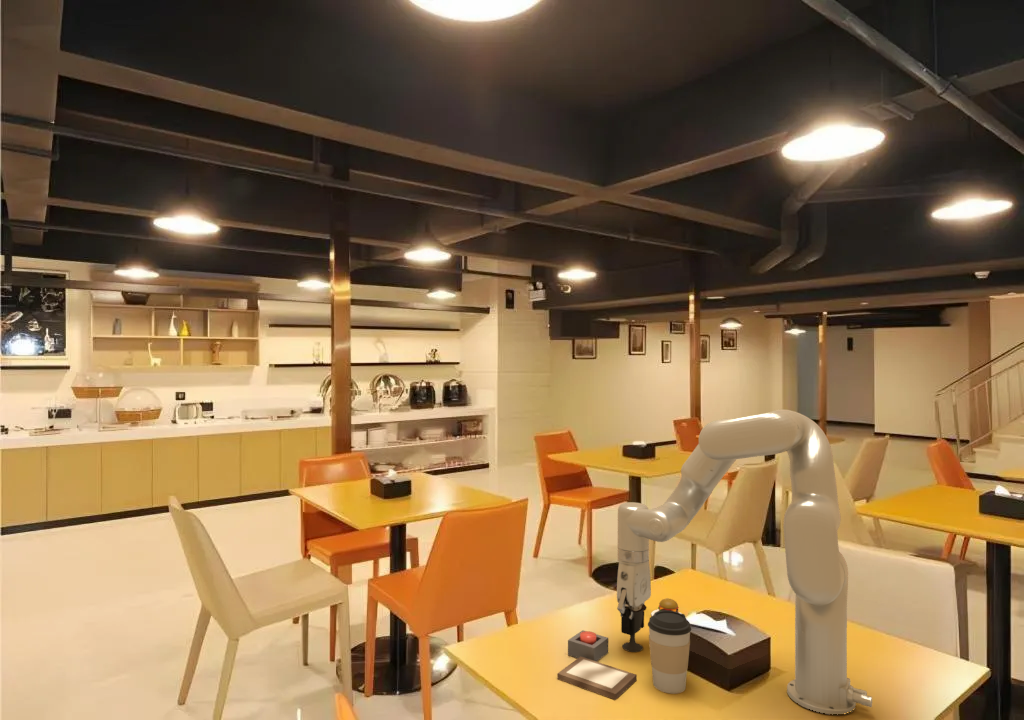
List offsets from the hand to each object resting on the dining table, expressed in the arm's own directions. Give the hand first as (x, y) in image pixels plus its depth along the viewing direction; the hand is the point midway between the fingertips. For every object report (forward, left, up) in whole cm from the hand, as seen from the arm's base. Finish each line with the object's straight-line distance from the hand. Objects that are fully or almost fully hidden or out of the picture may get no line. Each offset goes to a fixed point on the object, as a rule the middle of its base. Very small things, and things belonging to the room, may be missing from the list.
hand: (632, 629), depth 148 cm
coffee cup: (-14, +12, -5) cm, 19 cm away
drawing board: (-1, +19, -4) cm, 20 cm away
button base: (+7, +9, -4) cm, 13 cm away
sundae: (0, 0, -5) cm, 5 cm away
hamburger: (0, -23, -5) cm, 24 cm away
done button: (+7, +10, -2) cm, 12 cm away
